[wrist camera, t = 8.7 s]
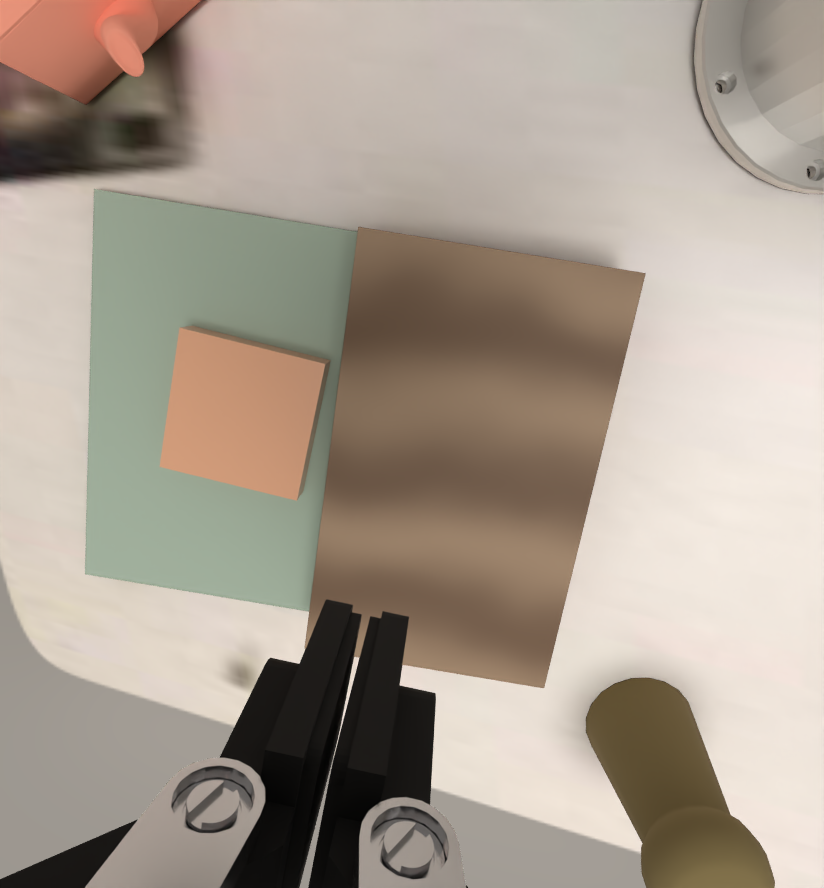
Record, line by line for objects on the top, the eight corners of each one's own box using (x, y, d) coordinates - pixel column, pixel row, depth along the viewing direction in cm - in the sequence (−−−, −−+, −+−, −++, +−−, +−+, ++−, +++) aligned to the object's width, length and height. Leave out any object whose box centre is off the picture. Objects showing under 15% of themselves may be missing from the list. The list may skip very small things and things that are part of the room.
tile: (191, 325, 30) (179, 327, 29) (330, 360, 30) (325, 364, 29) (172, 458, 32) (159, 466, 31) (303, 491, 32) (296, 500, 31)
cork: (578, 762, 36) (634, 960, 26) (594, 672, 35) (661, 843, 24) (681, 773, 36) (781, 977, 25) (703, 683, 35) (818, 860, 24)
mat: (101, 190, 30) (94, 189, 29) (359, 232, 29) (357, 231, 29) (91, 569, 35) (85, 574, 34) (311, 606, 34) (309, 611, 34)
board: (369, 234, 29) (358, 226, 26) (618, 275, 29) (645, 273, 25) (320, 607, 35) (304, 648, 31) (532, 642, 34) (543, 688, 31)
